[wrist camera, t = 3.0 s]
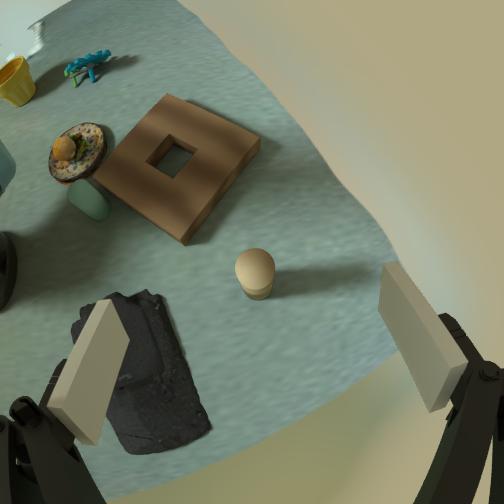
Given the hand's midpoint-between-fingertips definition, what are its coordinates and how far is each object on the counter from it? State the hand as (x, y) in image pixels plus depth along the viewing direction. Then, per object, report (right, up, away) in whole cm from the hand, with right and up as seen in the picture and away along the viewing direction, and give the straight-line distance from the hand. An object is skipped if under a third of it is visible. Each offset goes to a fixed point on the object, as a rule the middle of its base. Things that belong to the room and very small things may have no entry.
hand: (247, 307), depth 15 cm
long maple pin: (+1, -2, +26) cm, 26 cm away
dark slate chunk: (-15, -14, +24) cm, 32 cm away
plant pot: (-53, +39, +39) cm, 77 cm away
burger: (-30, +19, +33) cm, 49 cm away
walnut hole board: (-11, +15, +31) cm, 36 cm away
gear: (-33, +40, +38) cm, 64 cm away
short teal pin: (-23, +9, +30) cm, 38 cm away
